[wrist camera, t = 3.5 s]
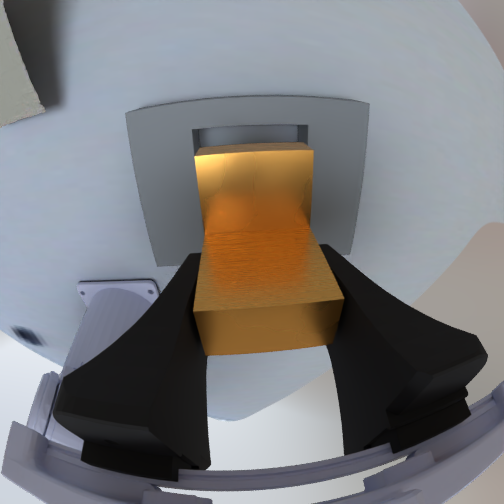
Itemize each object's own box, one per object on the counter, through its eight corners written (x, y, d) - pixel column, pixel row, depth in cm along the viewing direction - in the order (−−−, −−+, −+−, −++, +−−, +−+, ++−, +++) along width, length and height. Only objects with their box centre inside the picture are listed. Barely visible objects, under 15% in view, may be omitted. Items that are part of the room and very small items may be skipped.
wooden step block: (299, 250, 13) (332, 343, 8) (212, 256, 13) (205, 355, 8) (303, 142, 10) (363, 192, 5) (199, 147, 10) (169, 202, 5)
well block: (338, 235, 20) (350, 254, 18) (164, 245, 19) (157, 266, 17) (351, 99, 14) (369, 103, 12) (139, 108, 14) (125, 112, 12)
